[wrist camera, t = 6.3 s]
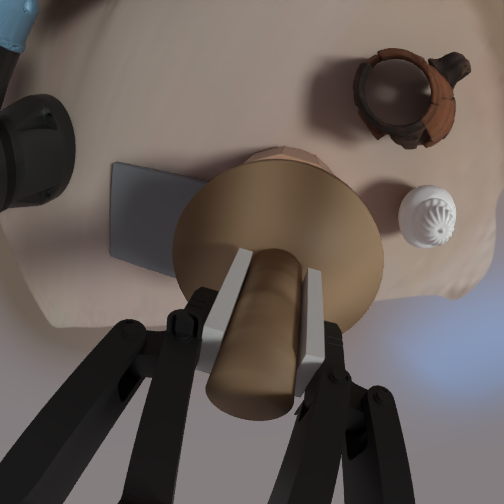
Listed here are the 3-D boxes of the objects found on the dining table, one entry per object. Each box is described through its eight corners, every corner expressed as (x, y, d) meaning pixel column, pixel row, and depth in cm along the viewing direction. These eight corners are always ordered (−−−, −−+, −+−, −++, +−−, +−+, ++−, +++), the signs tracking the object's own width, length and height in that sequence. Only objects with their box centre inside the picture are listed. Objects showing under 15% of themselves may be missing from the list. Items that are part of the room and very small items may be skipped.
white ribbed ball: (413, 163, 25) (443, 180, 19) (450, 201, 26) (482, 226, 19) (376, 210, 28) (395, 239, 22) (415, 243, 28) (439, 277, 22)
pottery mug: (412, 171, 26) (397, 171, 20) (353, 103, 27) (319, 86, 21) (491, 101, 18) (501, 78, 12) (424, 34, 20) (409, -4, 13)
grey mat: (113, 253, 35) (110, 255, 35) (117, 161, 30) (113, 163, 29) (199, 280, 35) (197, 284, 34) (217, 184, 29) (214, 186, 28)
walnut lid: (171, 309, 22) (109, 415, 13) (196, 135, 16) (74, 174, 7) (333, 355, 21) (335, 475, 12) (411, 199, 15) (503, 300, 6)
